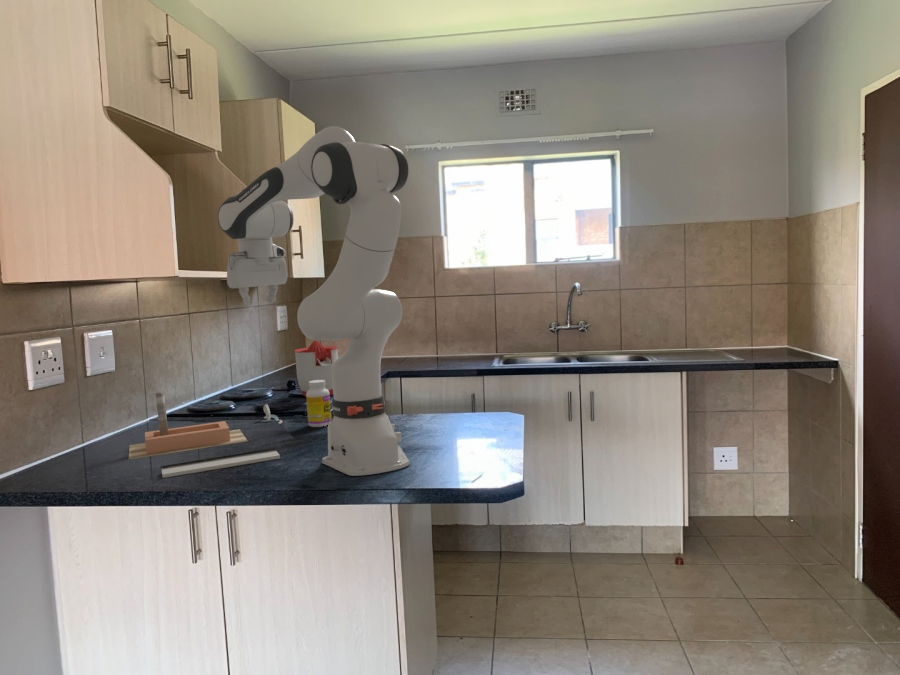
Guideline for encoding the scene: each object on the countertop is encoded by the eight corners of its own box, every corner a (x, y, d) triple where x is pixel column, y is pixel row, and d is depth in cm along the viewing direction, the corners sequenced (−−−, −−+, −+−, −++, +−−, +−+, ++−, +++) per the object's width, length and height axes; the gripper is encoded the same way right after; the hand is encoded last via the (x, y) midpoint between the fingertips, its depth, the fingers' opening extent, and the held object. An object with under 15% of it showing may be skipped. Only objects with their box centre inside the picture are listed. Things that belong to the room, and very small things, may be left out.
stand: (248, 446, 176) (242, 387, 175) (129, 465, 165) (122, 402, 163) (240, 434, 191) (235, 379, 189) (130, 450, 179) (123, 392, 178)
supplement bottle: (326, 427, 193) (323, 382, 192) (304, 427, 194) (301, 383, 193) (335, 422, 199) (331, 378, 198) (314, 422, 201) (310, 379, 199)
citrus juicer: (307, 401, 235) (302, 344, 233) (292, 395, 250) (287, 341, 248) (349, 395, 243) (345, 339, 241) (332, 389, 258) (328, 336, 256)
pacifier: (284, 421, 206) (264, 422, 205) (283, 401, 205) (263, 402, 205) (280, 427, 199) (259, 428, 198) (279, 406, 198) (258, 406, 198)
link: (230, 441, 177) (229, 427, 177) (146, 453, 169) (145, 440, 169) (226, 433, 186) (224, 421, 186) (146, 445, 178) (144, 432, 178)
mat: (280, 458, 163) (279, 455, 163) (162, 477, 152) (162, 474, 152) (270, 446, 175) (269, 443, 175) (160, 463, 165) (160, 460, 165)
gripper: (238, 251, 170) (242, 306, 171) (289, 250, 188) (293, 300, 190) (218, 252, 172) (223, 307, 174) (271, 251, 191) (274, 300, 192)
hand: (260, 303), depth 182 cm, fingers open, 8 cm apart
